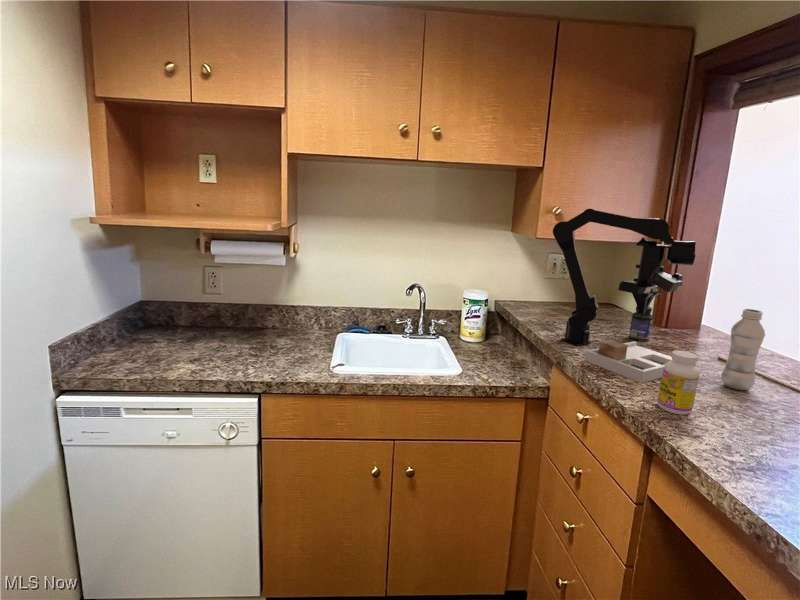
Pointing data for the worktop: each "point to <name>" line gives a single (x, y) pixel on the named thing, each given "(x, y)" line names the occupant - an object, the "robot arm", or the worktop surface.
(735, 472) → the worktop surface
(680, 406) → the supplement bottle
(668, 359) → the trap box
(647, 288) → the robot arm
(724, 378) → the plastic bottle
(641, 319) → the pill bottle
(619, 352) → the walnut block
